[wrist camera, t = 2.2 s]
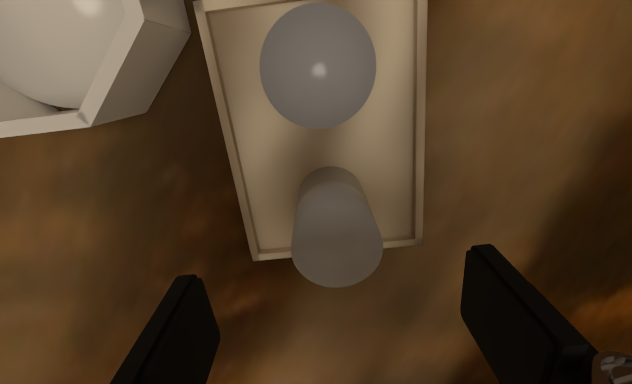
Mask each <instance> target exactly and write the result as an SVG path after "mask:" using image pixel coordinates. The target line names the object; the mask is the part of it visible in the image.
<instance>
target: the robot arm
mask: <svg viewBox="0 0 632 384" xmlns="http://www.w3.org/2000/svg"><path fill="white" fill-rule="evenodd" d="M460 310H461V316H462V318H463V320H464V322H465V324H466V326H467V327H468V329H469V331H470V332H471V334H472V336H473V338H474V339H475V341H476V343H477V344H478V346H479V348H480V350H481V351H482V353H483V355H484V357H485V358H486V360H487V362H488V363H489V365H490V367H491V369H492V370H493V372H494V374H495V375H496V377H497V379H498V381H499V382H500V384H632V355H629V354H625V353H622V352H616V351H604V352H598V351H597V350H596V349H595V348H594V347H593V346H592V345H591V344H590V343H589V342H588V341H587V340H586V339H585V338H584V337H583V336H582V335H581V334H580V333H579V332H578V331H577V330H576V329H575V328H574V327H573V326H572V325H571V324H570V323H569V322H568V321H567V320H566V319H565V318H564V317H563V316H562V315H561V314H560V313H559V312H558V310H557V309H556V308H555V307H554V306H553V305H552V304H551V303H550V302H549V301H548V300H547V299H546V298H545V297H544V296H543V295H542V294H541V293H540V292H539V291H538V290H537V289H536V288H535V287H534V286H533V285H532V284H531V283H529V282H528V281H527V280H526V279H525V278H524V277H523V276H522V275H521V274H520V273H519V272H518V271H517V270H516V269H515V268H514V267H513V266H512V265H511V263H510V262H509V261H508V260H507V259H506V258H505V257H504V256H503V255H502V254H501V253H500V252H499V251H498V250H497V249H496V248H495V247H494V246H493V245H491V244H484V245H474V246H472V247H471V250H468V251H467V252H466V258H465V268H464V278H463V288H462V298H461V309H460ZM219 342H220V332H219V329H218V326H217V323H216V320H215V317H214V314H213V311H212V308H211V305H210V302H209V299H208V296H207V293H206V290H205V287H204V284H203V281H202V279H201V278H197V276H196V275H194V274H192V275H182V276H178V277H176V279H175V280H174V282H173V283H172V285H171V287H170V288H169V290H168V291H167V293H166V295H165V296H164V298H163V299H162V301H161V303H160V304H159V306H158V307H157V309H156V311H155V312H154V314H153V315H152V317H151V319H150V320H149V322H148V323H147V325H146V326H145V328H144V330H143V331H142V333H141V334H140V336H139V338H138V339H137V341H136V342H135V344H134V346H133V347H132V349H131V350H130V352H129V354H128V355H127V357H126V358H125V360H124V362H123V363H122V365H121V367H120V368H119V370H118V371H117V373H116V375H115V376H114V378H113V379H112V381H111V383H110V384H206V382H207V379H208V376H209V373H210V370H211V367H212V364H213V360H214V357H215V354H216V351H217V348H218V345H219Z"/></svg>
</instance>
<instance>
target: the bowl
mask: <svg viewBox="0 0 632 384" xmlns="http://www.w3.org/2000/svg"><path fill="white" fill-rule="evenodd" d="M190 35H191V29H190V25H189V21H188V17H187V12H186V8H185V4H184V0H0V138H3V137H11V136H20V135H28V134H36V133H45V132H53V131H61V130H70V129H78V128H86V127H92V126H96V125H100V124H104V123H108V122H112V121H116V120H120V119H123V118H127V117H131V116H135V115H139V114H143V113H146V112H147V111H148V109H149V107H150V106H151V104H152V102H153V100H154V99H155V97H156V95H157V93H158V92H159V90H160V88H161V86H162V85H163V83H164V81H165V79H166V77H167V76H168V74H169V72H170V70H171V69H172V67H173V65H174V63H175V62H176V60H177V58H178V56H179V55H180V53H181V51H182V49H183V48H184V46H185V44H186V42H187V40H188V39H189V37H190ZM51 105H53V106H58V107H63V108H75V109H74V110H65V111H59V110H57V109H56V108H54V107H53V106H51ZM79 108H80V109H79Z"/></svg>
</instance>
